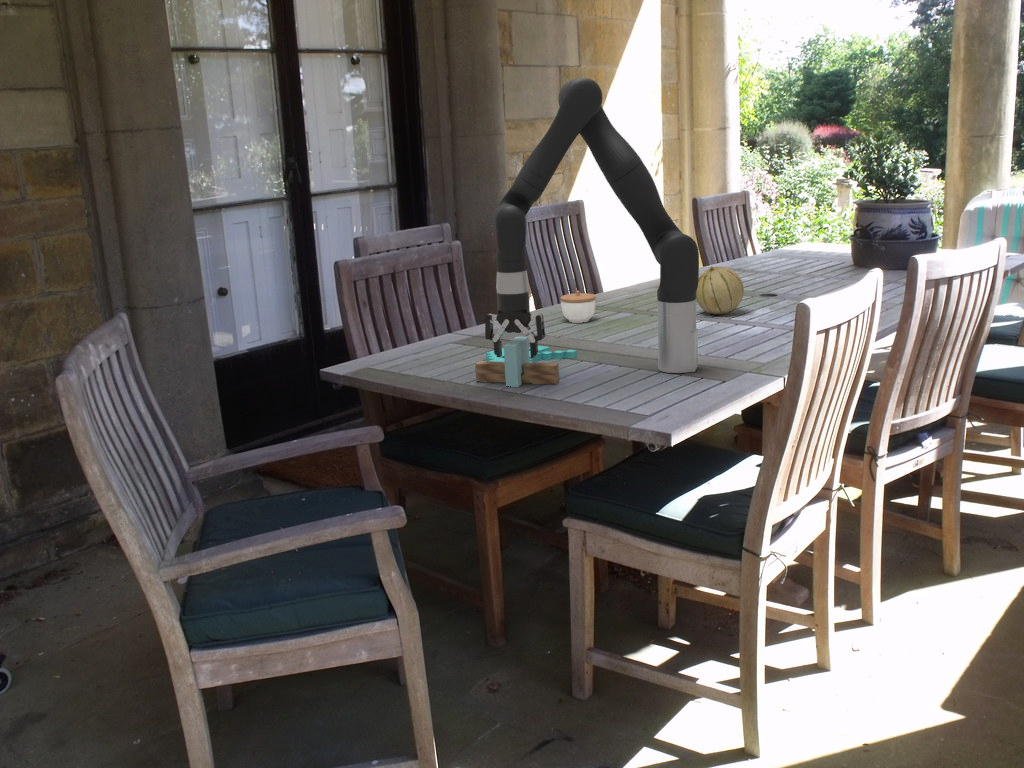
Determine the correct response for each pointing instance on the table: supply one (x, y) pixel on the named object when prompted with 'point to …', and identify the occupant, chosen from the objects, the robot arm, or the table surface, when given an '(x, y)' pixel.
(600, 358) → the table surface
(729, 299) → the cantaloupe
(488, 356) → the alien figure
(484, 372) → the slotted rail
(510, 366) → the notched plate
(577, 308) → the lidded jar
